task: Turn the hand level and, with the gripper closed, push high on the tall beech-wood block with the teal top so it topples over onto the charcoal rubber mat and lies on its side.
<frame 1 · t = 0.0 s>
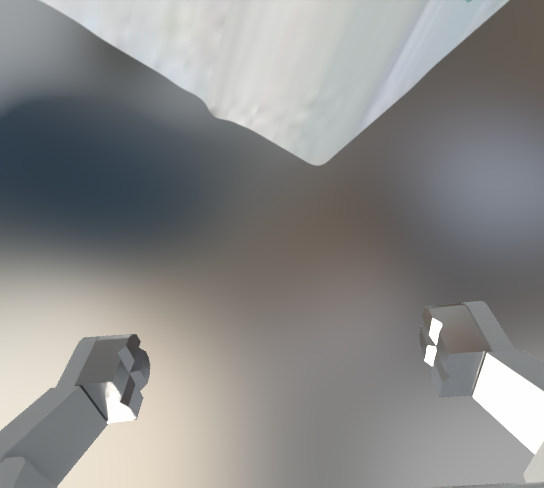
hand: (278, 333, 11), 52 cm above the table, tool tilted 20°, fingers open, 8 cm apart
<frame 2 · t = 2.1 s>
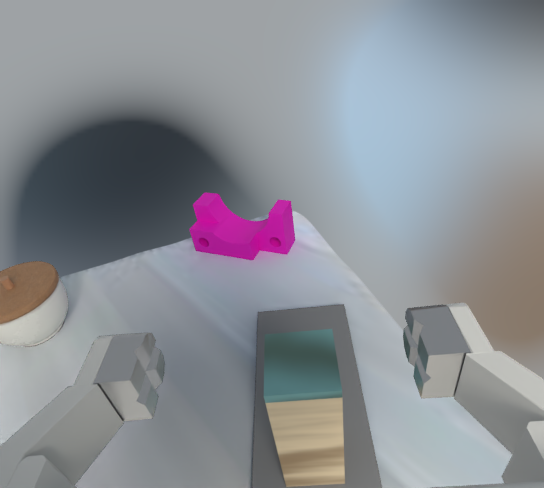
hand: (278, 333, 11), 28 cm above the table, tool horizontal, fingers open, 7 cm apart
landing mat: (307, 388, 41), on the table
lidded jar: (41, 329, 53), on the table
tall block: (312, 454, 35), resting on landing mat
toy block: (245, 247, 63), on the table
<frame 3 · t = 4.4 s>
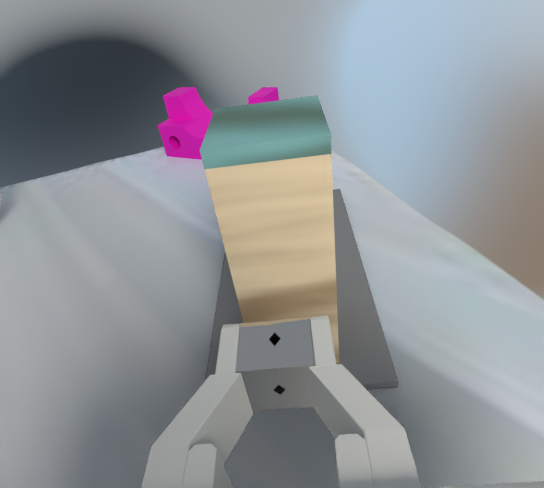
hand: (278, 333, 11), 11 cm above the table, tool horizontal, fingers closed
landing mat: (290, 268, 31), on the table
tall block: (294, 333, 25), resting on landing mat
toy block: (224, 152, 52), on the table
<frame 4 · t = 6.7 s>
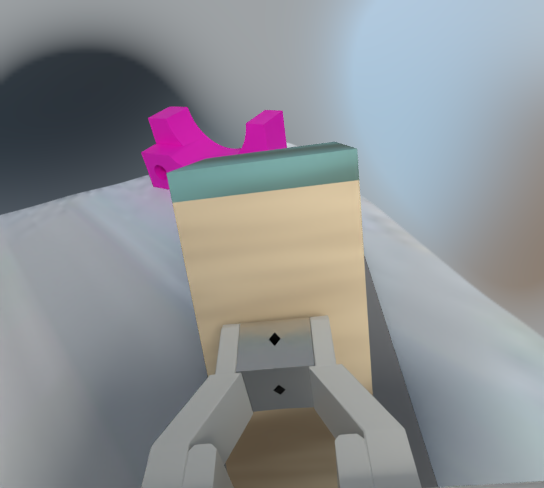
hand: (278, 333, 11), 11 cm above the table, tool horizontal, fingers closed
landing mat: (301, 370, 23), on the table
toy block: (220, 184, 44), on the table
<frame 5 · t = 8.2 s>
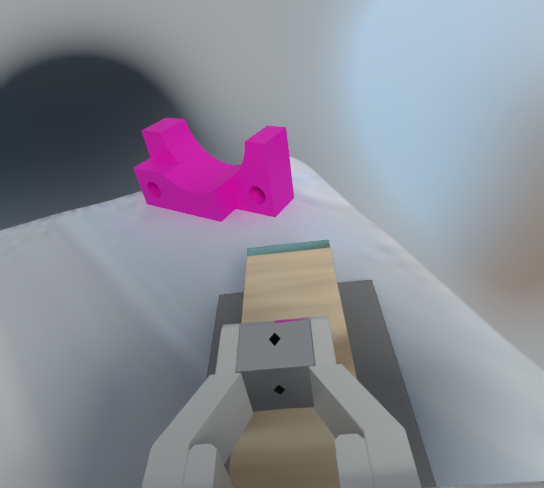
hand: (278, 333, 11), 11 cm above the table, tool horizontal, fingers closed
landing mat: (306, 446, 19), on the table
toy block: (218, 204, 41), on the table
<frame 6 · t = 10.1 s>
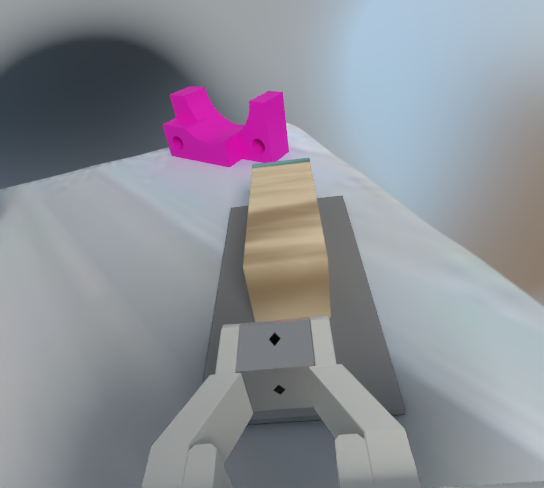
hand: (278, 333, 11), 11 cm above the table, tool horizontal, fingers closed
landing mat: (291, 281, 29), on the table
tall block: (289, 294, 24), point 3 cm above the table, tilted 90°, touching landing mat
toy block: (228, 156, 51), on the table
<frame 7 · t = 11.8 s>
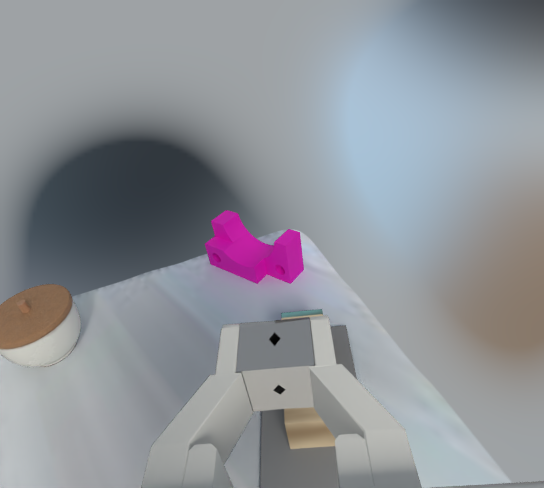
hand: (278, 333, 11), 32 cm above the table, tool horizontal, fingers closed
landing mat: (311, 408, 43), on the table
lidded jar: (55, 349, 55), on the table
tall block: (313, 434, 37), point 3 cm above the table, tilted 90°, touching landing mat
toy block: (255, 268, 64), on the table
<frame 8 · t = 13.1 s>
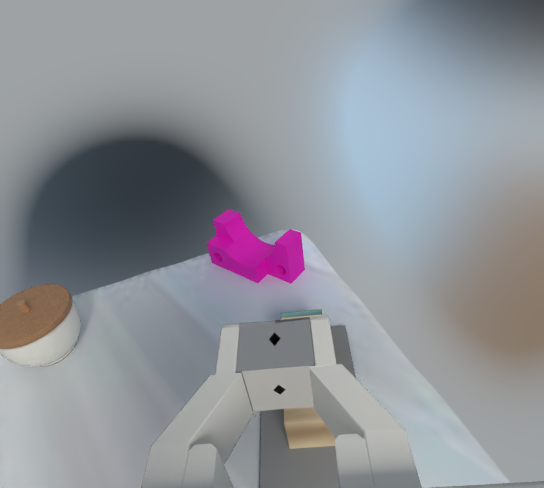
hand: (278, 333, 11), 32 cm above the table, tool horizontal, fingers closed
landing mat: (310, 408, 43), on the table
lidded jar: (55, 349, 55), on the table
tall block: (312, 434, 38), point 3 cm above the table, tilted 90°, touching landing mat
toy block: (257, 267, 64), on the table
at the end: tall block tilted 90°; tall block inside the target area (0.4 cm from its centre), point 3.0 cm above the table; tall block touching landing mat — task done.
